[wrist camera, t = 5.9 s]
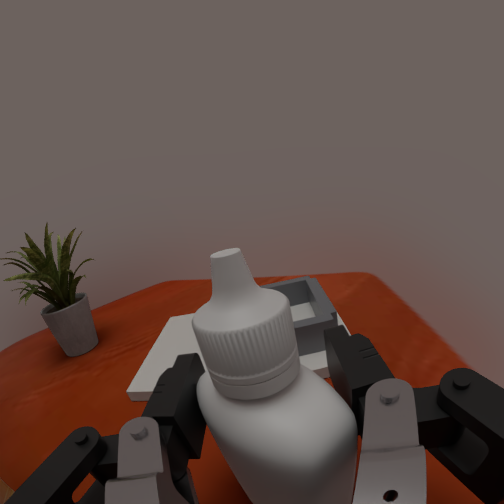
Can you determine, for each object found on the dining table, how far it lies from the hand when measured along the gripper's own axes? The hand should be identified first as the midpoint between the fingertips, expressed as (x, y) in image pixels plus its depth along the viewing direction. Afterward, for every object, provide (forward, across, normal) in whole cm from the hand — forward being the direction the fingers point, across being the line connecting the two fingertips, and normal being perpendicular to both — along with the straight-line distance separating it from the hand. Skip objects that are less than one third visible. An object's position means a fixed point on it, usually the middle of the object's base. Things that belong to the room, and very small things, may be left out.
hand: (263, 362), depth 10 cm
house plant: (+17, +26, +7) cm, 32 cm away
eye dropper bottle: (-3, 0, +7) cm, 8 cm away
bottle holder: (+13, +3, +7) cm, 15 cm away
